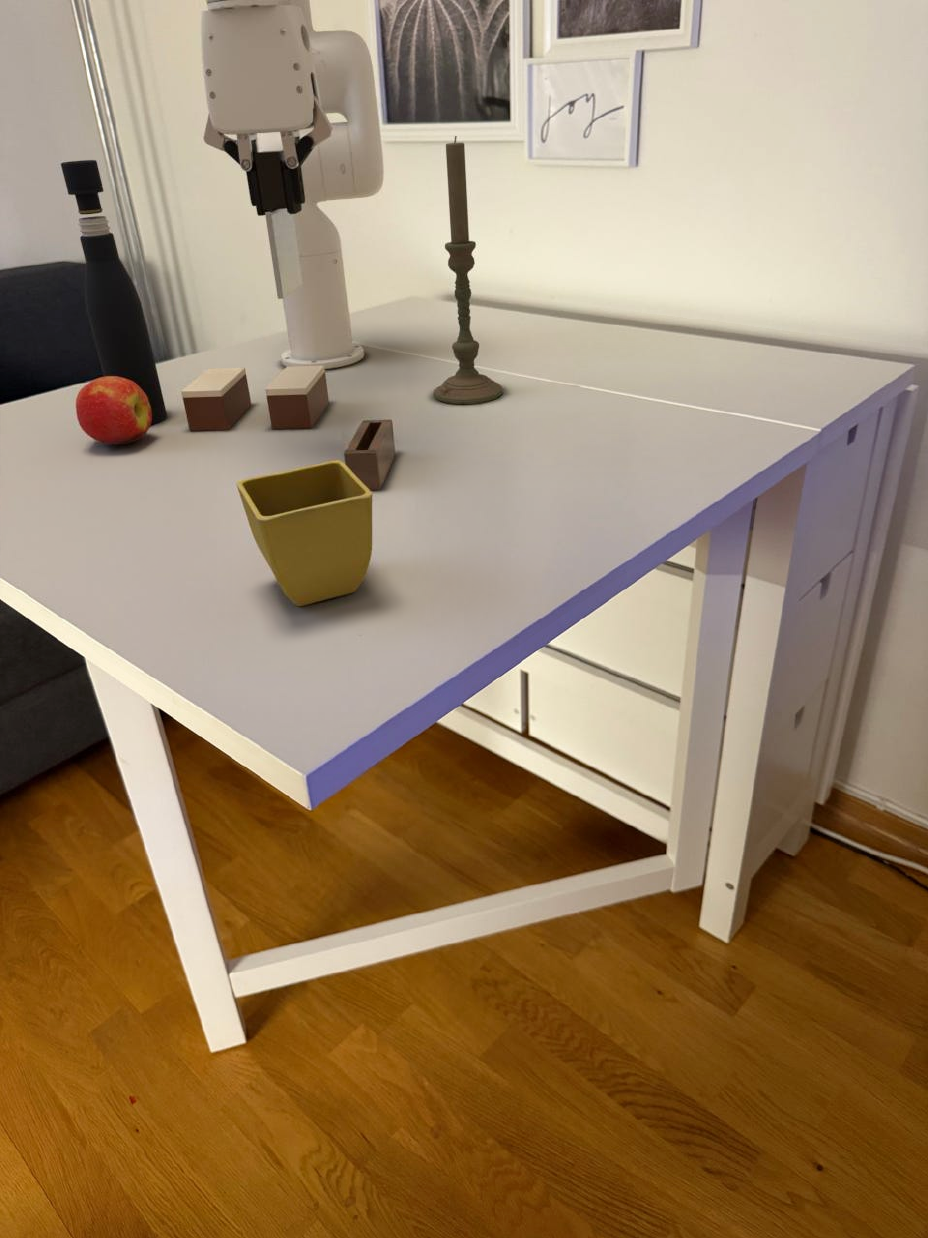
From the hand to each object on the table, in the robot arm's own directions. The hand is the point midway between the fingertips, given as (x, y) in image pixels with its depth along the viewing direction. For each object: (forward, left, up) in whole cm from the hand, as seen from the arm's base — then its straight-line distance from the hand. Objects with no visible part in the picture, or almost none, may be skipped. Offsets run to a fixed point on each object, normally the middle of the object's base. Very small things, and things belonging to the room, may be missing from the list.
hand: (279, 211), depth 90 cm
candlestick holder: (-20, +16, -25) cm, 36 cm away
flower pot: (+33, +8, -25) cm, 42 cm away
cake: (-13, -15, -25) cm, 32 cm away
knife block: (+7, +8, -25) cm, 27 cm away
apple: (-4, -25, -25) cm, 36 cm away
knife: (0, 0, -8) cm, 8 cm away
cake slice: (-13, -5, -25) cm, 28 cm away
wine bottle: (-13, -26, -25) cm, 38 cm away
